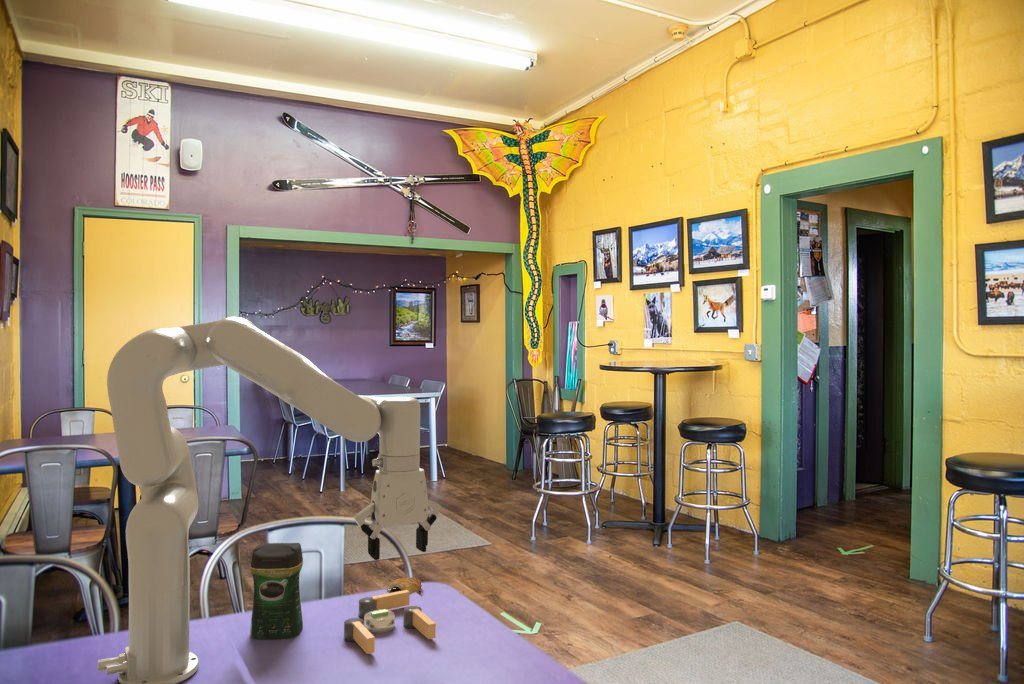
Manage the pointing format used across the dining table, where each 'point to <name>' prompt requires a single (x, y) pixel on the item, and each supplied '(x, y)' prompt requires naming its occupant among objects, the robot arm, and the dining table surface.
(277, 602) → the coffee jar
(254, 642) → the dining table surface
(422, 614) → the knob right
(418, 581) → the pastry
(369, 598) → the knob back
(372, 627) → the level plate
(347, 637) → the knob left
